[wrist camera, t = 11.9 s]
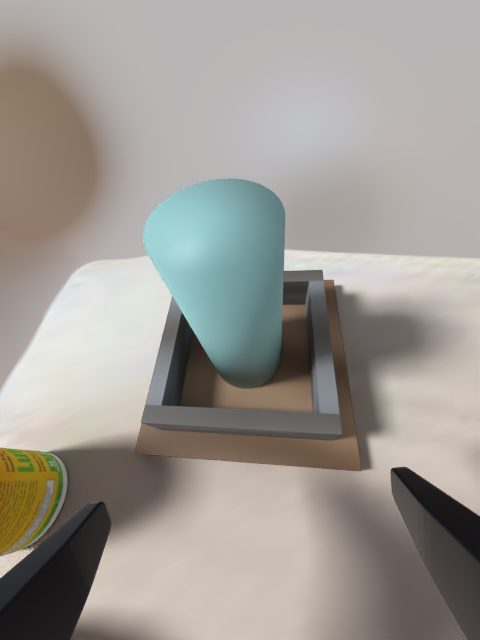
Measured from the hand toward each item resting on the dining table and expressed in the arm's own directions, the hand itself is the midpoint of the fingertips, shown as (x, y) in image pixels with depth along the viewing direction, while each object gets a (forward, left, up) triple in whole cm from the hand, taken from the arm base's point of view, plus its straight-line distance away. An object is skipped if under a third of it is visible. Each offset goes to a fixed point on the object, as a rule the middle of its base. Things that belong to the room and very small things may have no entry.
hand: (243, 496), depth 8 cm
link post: (+8, +1, -8) cm, 12 cm away
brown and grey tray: (+8, +1, -9) cm, 12 cm away
